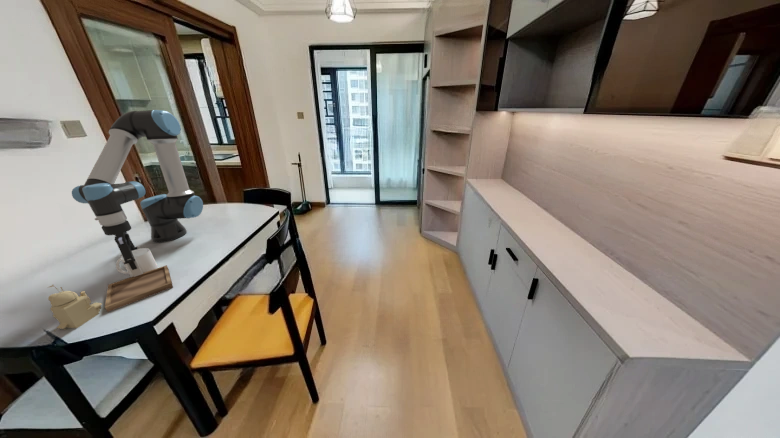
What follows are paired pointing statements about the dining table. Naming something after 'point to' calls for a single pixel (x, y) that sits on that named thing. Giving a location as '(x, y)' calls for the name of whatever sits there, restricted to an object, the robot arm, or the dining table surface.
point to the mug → (140, 261)
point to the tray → (137, 288)
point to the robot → (72, 308)
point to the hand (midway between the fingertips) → (138, 269)
